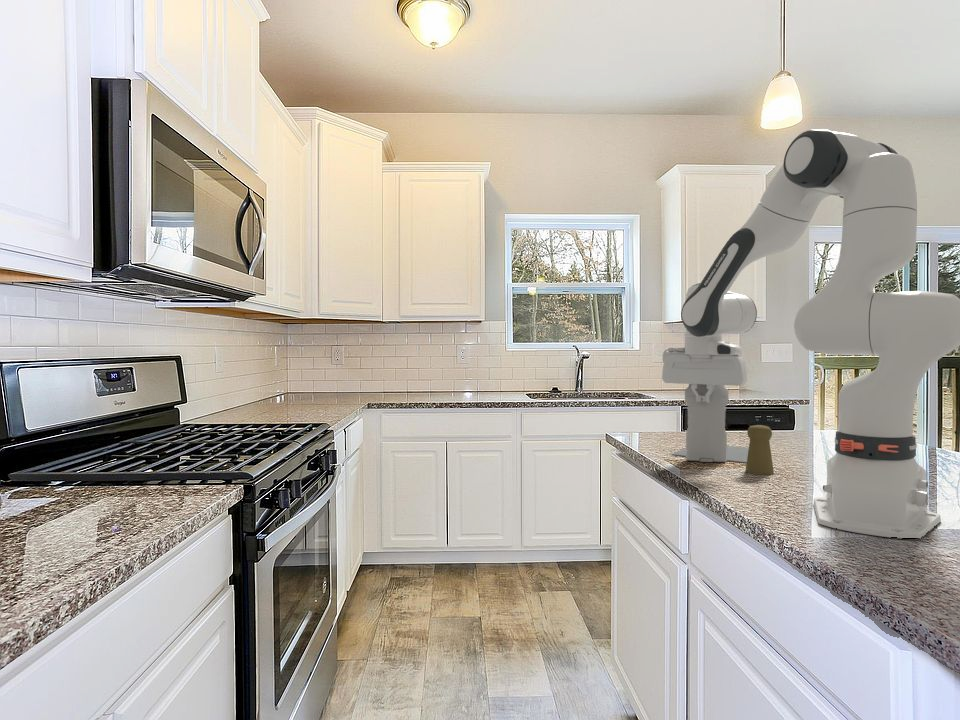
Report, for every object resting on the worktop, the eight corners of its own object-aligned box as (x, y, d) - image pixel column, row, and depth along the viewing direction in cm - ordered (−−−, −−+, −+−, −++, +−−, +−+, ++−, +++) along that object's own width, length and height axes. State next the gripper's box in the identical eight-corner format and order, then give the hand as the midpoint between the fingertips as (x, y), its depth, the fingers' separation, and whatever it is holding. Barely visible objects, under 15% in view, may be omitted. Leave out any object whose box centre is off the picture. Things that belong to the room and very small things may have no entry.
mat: (750, 463, 149) (750, 462, 149) (671, 455, 162) (671, 454, 162) (769, 450, 167) (769, 449, 167) (697, 443, 179) (697, 442, 179)
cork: (742, 469, 143) (742, 423, 143) (768, 469, 142) (768, 423, 142) (749, 474, 137) (750, 427, 137) (777, 475, 136) (777, 427, 136)
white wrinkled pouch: (684, 461, 152) (685, 375, 153) (683, 458, 156) (684, 374, 157) (729, 463, 150) (729, 375, 150) (727, 460, 154) (727, 375, 154)
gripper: (658, 347, 154) (658, 401, 155) (742, 347, 142) (742, 405, 142) (666, 347, 159) (666, 399, 160) (748, 347, 147) (748, 403, 147)
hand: (703, 402), depth 151 cm, fingers closed
